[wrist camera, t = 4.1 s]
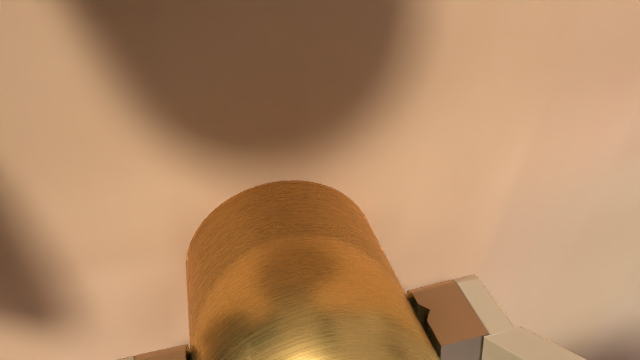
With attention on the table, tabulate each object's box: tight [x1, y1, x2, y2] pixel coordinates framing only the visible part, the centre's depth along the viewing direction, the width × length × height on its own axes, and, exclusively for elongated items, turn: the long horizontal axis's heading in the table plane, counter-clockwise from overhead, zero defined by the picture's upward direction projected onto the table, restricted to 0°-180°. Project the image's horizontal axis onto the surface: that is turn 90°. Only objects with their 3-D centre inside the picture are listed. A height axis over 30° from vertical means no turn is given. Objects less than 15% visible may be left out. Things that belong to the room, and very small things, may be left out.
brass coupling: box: [186, 181, 440, 360], centre depth 11 cm, size 5×5×6 cm
